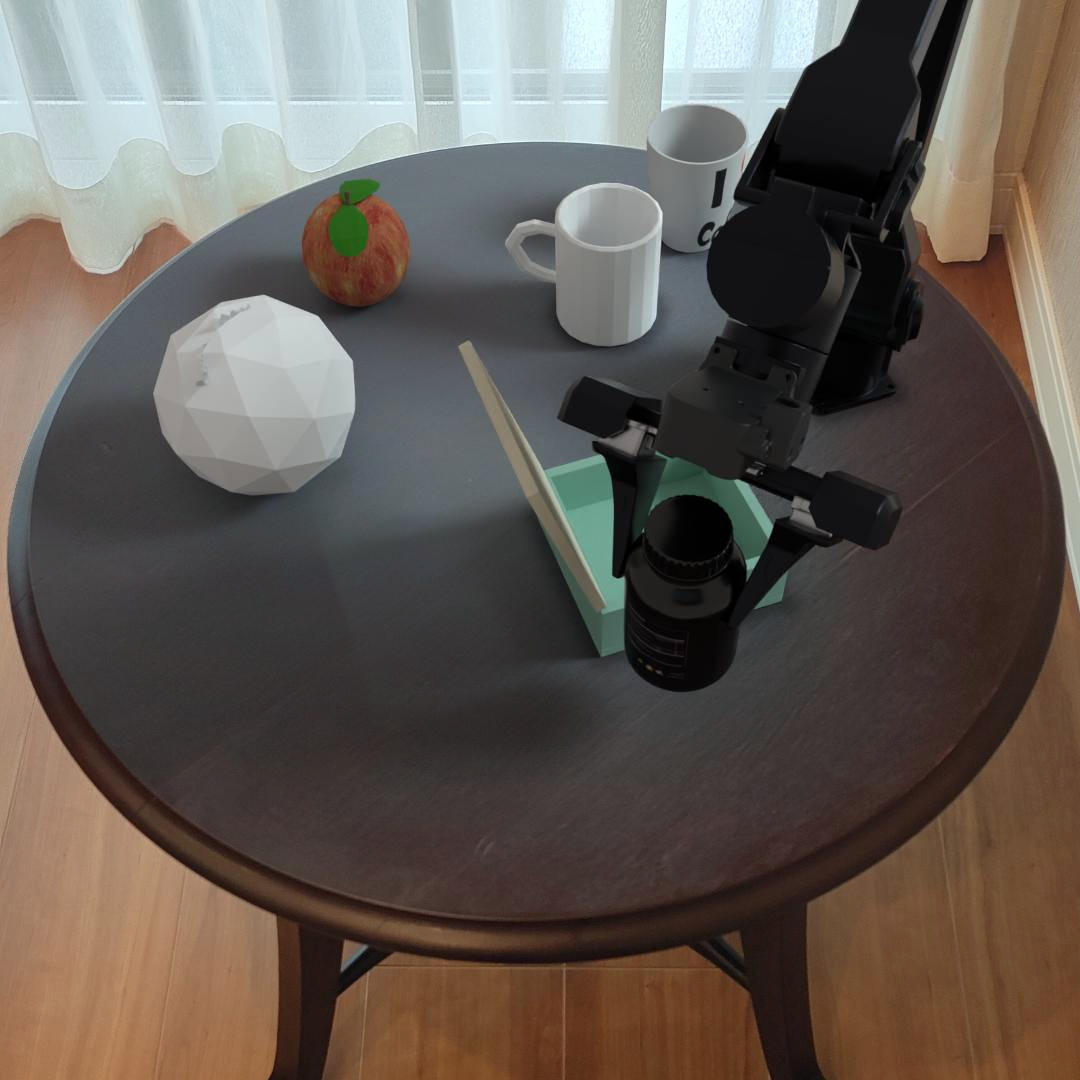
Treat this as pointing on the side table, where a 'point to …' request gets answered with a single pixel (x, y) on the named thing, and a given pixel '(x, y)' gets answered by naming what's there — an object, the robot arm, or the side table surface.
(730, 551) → the supplement bottle
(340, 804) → the side table surface
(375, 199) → the fruit
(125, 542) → the side table surface
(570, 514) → the teal shallow box
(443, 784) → the side table surface
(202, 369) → the geodesic sphere
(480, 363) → the lid
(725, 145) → the cup
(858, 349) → the robot arm
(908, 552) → the side table surface
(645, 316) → the mug
